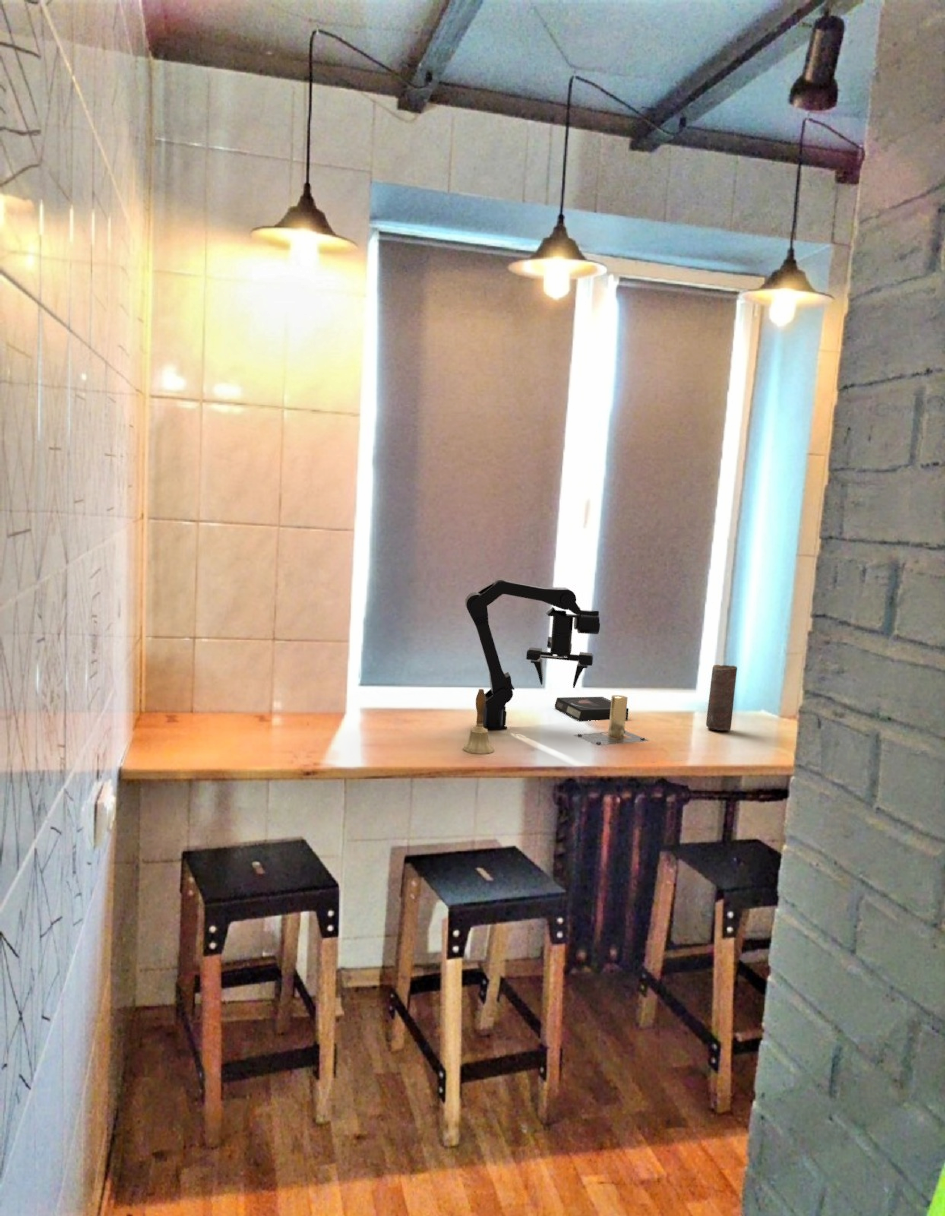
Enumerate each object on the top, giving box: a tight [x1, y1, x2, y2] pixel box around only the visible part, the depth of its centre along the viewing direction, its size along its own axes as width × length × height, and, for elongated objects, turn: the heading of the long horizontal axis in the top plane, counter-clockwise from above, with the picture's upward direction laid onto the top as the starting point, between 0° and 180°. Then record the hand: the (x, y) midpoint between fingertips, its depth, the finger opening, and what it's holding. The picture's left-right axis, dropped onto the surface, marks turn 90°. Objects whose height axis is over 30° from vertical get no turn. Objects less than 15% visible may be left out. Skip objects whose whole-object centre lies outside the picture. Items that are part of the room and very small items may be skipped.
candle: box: [705, 664, 738, 732], centre depth 279 cm, size 8×7×20 cm
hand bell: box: [462, 688, 495, 755], centre depth 240 cm, size 8×8×16 cm
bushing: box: [607, 694, 628, 739], centre depth 259 cm, size 4×4×12 cm
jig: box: [573, 729, 650, 746], centre depth 257 cm, size 18×11×2 cm, turn 120°
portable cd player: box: [554, 696, 629, 722], centre depth 290 cm, size 16×17×4 cm
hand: (557, 686), depth 265 cm, fingers open, 9 cm apart
